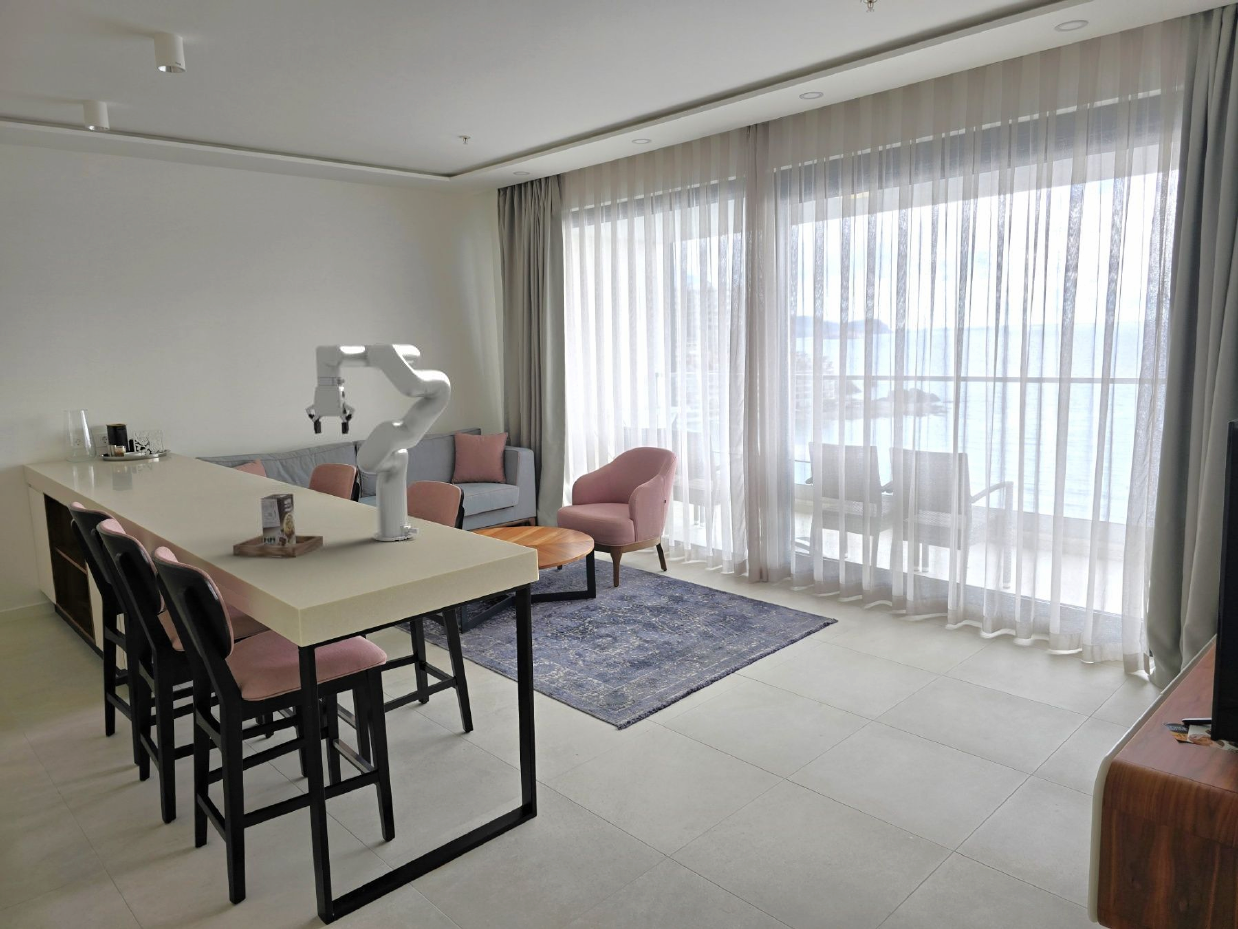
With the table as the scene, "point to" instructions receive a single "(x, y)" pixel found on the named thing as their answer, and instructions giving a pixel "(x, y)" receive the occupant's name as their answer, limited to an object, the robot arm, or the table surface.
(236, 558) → the table surface
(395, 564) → the table surface
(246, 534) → the table surface
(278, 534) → the coffee box
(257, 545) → the tray
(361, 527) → the table surface
